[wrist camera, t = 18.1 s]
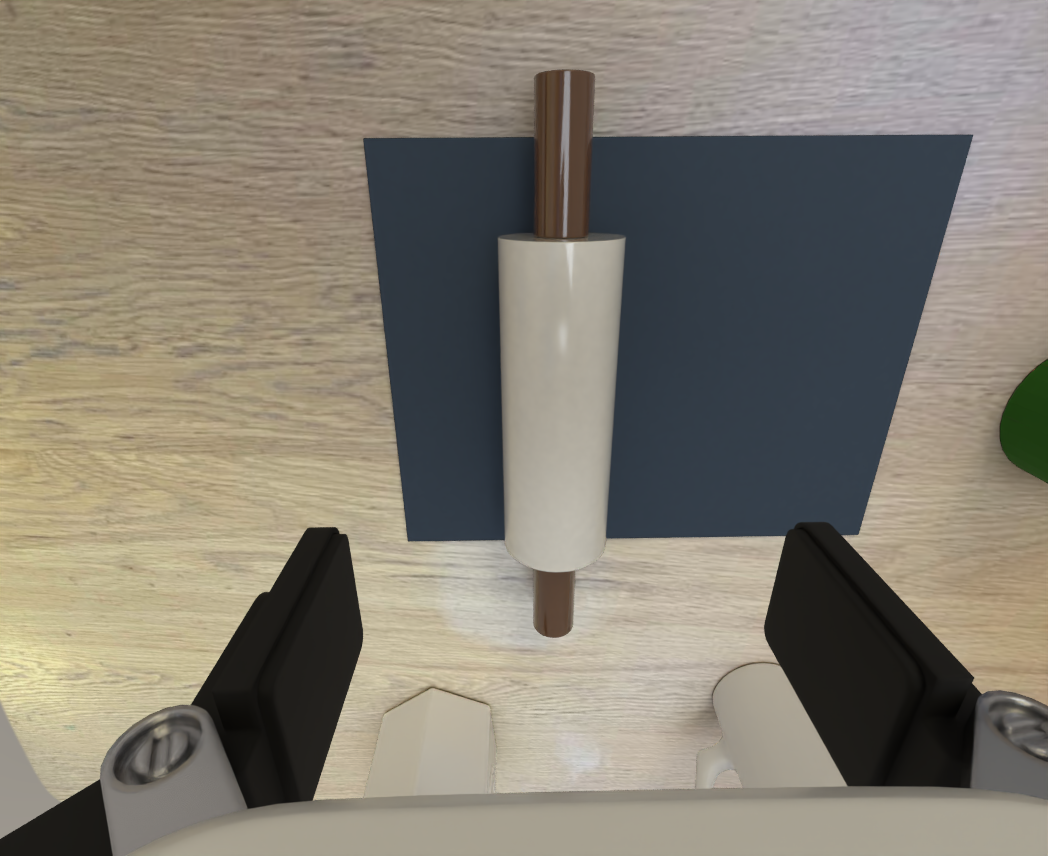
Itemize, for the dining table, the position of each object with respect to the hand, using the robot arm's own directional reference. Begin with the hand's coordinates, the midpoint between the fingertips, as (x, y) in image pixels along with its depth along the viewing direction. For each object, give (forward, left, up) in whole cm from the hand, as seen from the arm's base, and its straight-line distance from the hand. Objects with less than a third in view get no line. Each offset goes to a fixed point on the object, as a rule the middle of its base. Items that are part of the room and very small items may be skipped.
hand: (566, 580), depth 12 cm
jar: (+18, -24, -19) cm, 35 cm away
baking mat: (+5, +4, -19) cm, 20 cm away
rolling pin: (+1, -2, -18) cm, 18 cm away
